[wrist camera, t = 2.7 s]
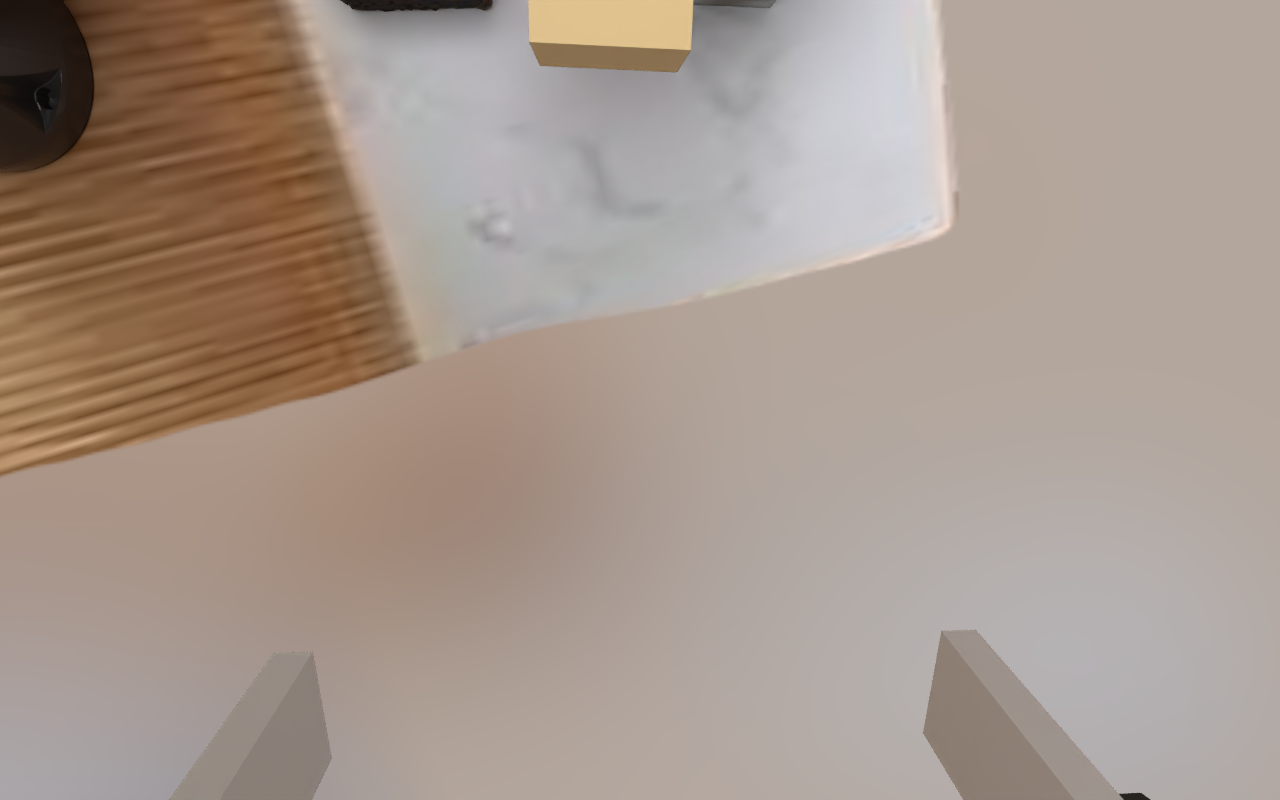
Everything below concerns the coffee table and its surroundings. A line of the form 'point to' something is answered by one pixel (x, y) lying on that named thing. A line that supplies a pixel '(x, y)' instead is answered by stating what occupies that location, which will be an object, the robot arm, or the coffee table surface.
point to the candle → (416, 4)
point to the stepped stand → (736, 3)
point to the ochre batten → (611, 33)
